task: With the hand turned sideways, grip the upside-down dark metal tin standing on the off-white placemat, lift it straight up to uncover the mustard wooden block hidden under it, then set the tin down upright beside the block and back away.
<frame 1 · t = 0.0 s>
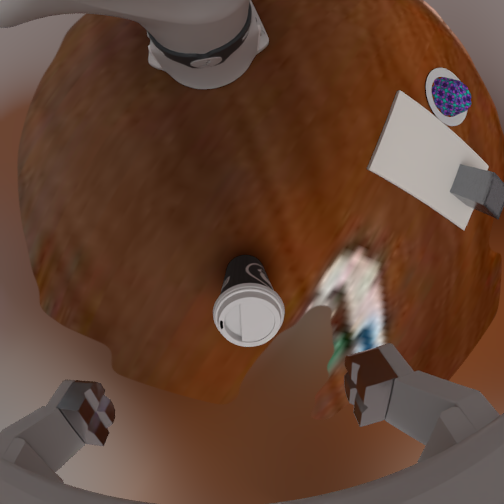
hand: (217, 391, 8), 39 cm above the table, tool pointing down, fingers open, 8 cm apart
coffee cup: (245, 271, 50), on the table
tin: (463, 185, 45), point 1 cm above the table, touching placemat
pudding: (445, 96, 39), on the table
placemat: (437, 165, 44), on the table
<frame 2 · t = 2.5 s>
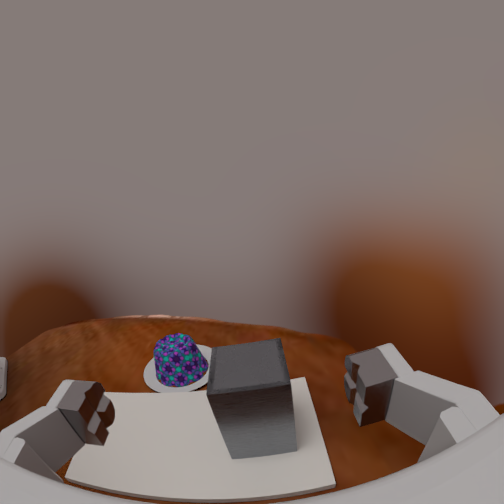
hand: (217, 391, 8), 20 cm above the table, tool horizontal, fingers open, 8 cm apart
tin: (262, 432, 25), point 1 cm above the table, touching placemat
pudding: (182, 371, 40), on the table
placemat: (190, 443, 26), on the table
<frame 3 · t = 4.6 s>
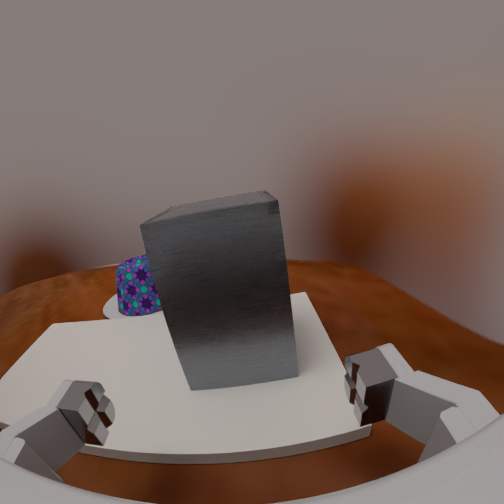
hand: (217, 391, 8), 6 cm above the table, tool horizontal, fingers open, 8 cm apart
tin: (242, 354, 18), point 1 cm above the table, touching placemat
pudding: (151, 303, 33), on the table
placemat: (138, 374, 19), on the table
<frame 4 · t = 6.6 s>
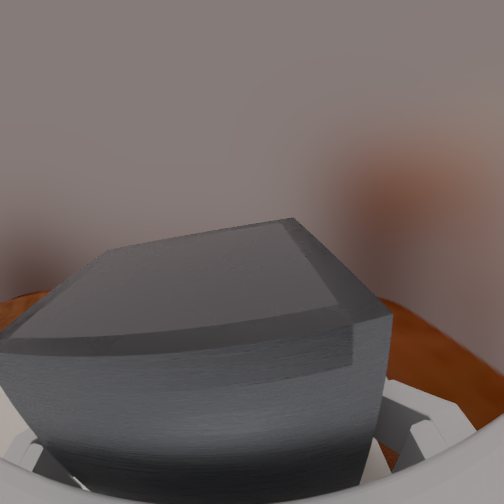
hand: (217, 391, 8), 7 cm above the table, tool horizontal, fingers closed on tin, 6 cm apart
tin: (248, 487, 9), point 1 cm above the table, touching gripper, placemat
placemat: (97, 485, 9), on the table
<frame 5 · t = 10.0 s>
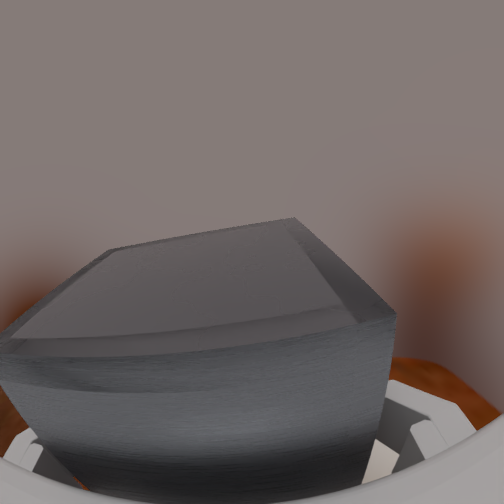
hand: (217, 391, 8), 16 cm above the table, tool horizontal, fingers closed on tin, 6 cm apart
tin: (248, 487, 9), point 11 cm above the table, touching gripper
when the fingers open (8 cm above the table, at t = 13.3 s): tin drops 1 cm, resting on placemat.
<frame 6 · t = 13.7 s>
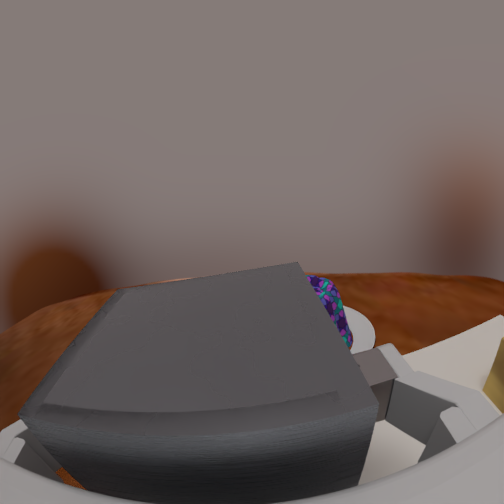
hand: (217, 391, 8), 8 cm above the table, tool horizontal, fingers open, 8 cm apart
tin: (252, 499, 9), point 1 cm above the table, touching placemat
pudding: (304, 344, 23), on the table
placemat: (412, 464, 10), on the table
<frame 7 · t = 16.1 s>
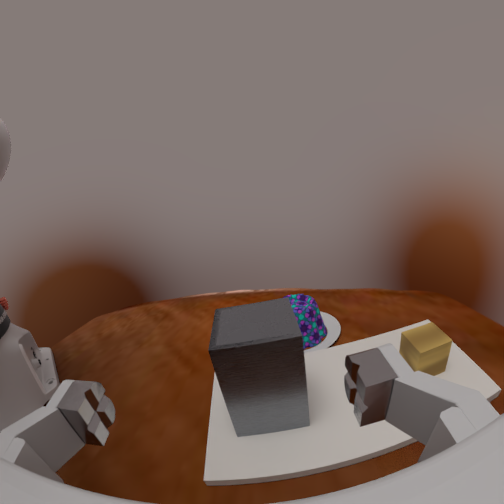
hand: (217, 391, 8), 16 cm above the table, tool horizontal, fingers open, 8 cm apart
block: (421, 367, 24), point 1 cm above the table, touching placemat
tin: (270, 408, 24), point 1 cm above the table, touching placemat
pudding: (297, 336, 38), on the table
placemat: (351, 396, 24), on the table
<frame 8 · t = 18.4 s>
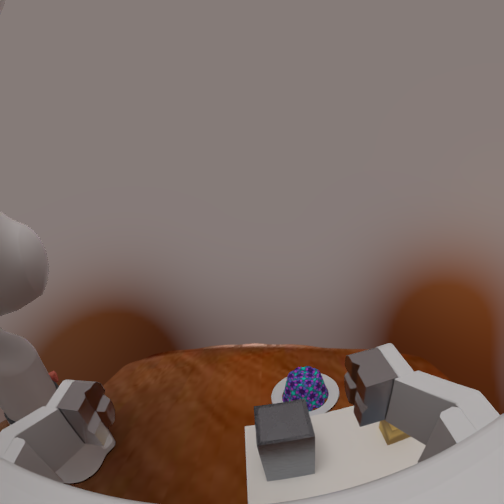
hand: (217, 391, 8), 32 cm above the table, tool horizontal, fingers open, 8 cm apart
block: (394, 431, 32), point 1 cm above the table, touching placemat
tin: (288, 460, 32), point 1 cm above the table, touching placemat
pudding: (305, 397, 46), on the table
placemat: (343, 451, 32), on the table
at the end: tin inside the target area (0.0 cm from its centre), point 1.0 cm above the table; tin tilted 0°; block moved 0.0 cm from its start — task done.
